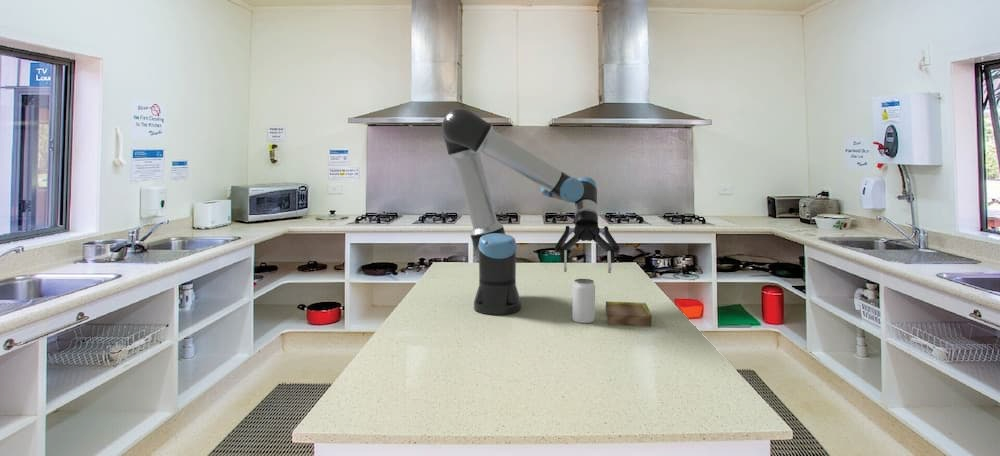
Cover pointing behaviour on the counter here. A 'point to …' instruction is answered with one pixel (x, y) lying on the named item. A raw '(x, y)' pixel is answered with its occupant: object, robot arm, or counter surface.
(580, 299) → the can
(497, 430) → the counter surface
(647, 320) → the dock
